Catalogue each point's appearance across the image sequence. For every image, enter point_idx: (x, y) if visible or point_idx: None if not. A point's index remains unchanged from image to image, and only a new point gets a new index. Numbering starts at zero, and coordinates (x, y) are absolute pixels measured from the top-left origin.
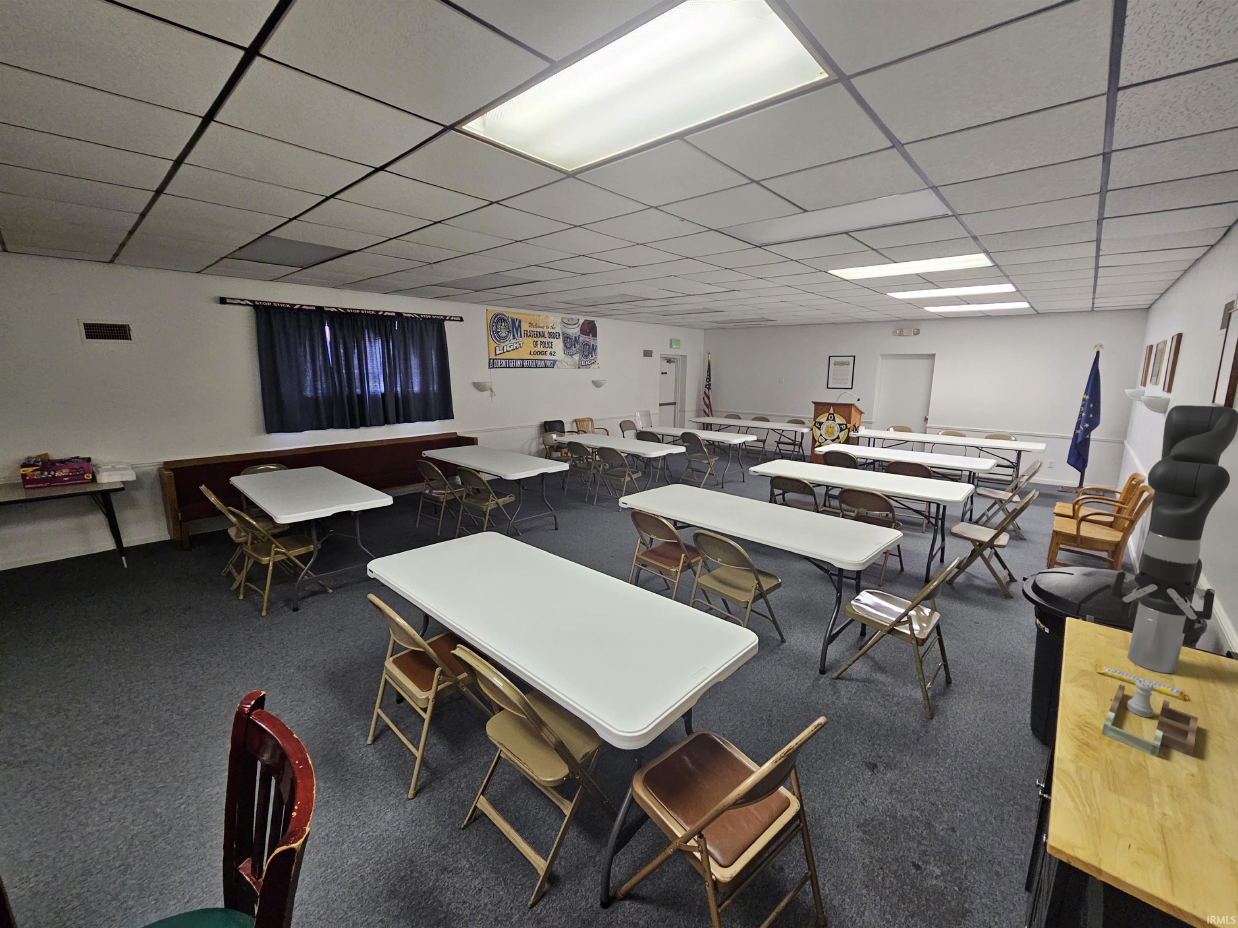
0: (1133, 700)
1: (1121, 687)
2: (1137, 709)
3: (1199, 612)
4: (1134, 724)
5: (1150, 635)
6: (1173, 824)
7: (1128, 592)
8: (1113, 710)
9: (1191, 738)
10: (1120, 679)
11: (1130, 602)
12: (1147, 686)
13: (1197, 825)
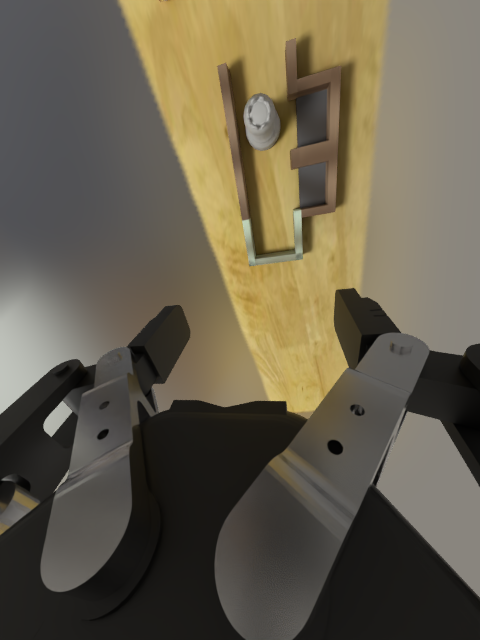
0: (253, 136)
1: (224, 83)
2: (262, 148)
3: (438, 410)
4: (268, 191)
5: None
6: (322, 349)
7: (96, 377)
8: (245, 211)
9: (332, 186)
10: None
11: (154, 371)
12: (264, 127)
13: (336, 337)
